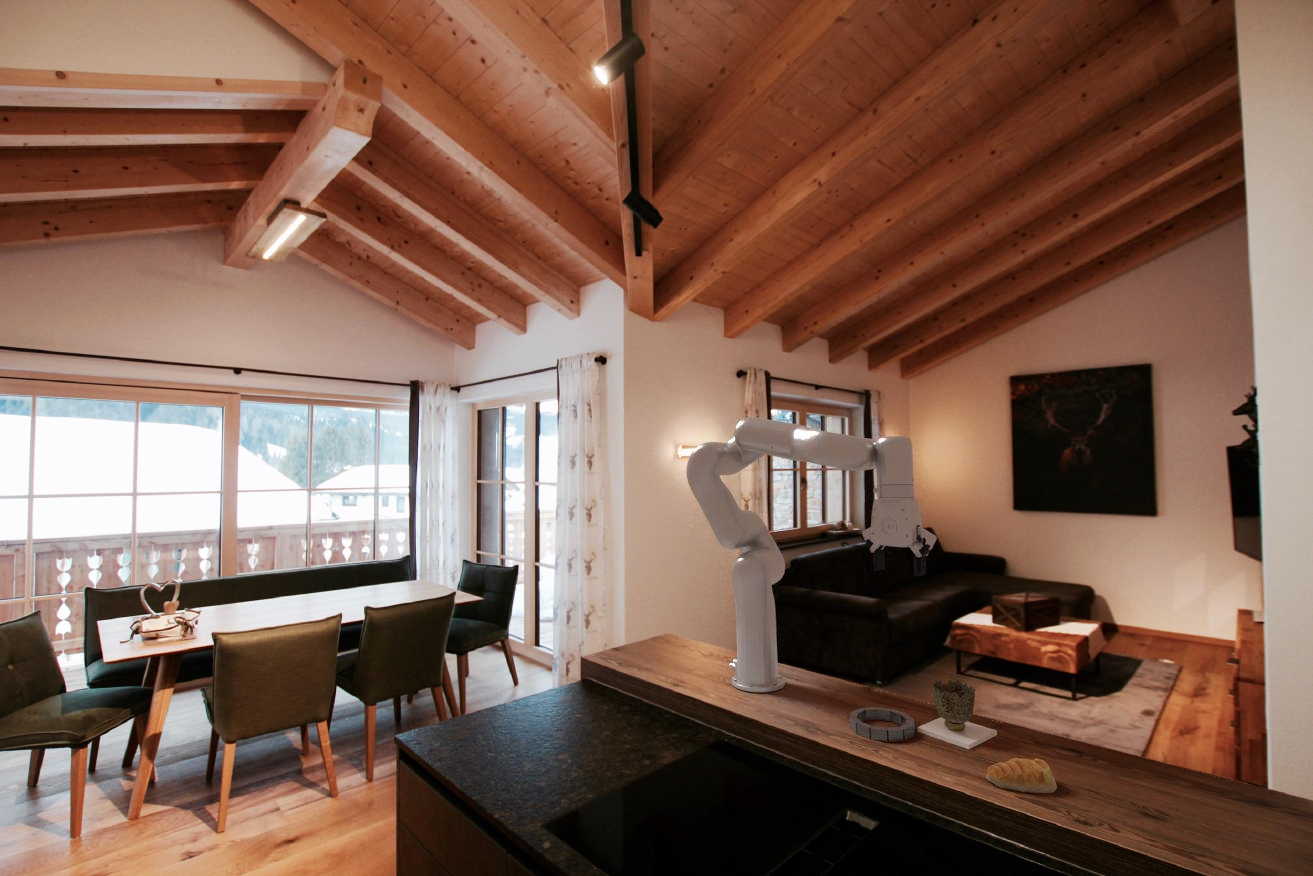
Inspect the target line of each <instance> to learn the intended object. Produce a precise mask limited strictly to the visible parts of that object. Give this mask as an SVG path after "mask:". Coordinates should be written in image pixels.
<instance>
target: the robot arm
mask: <svg viewBox="0 0 1313 876" xmlns="http://www.w3.org/2000/svg"><path fill="white" fill-rule="evenodd" d="M766 455H767V456H771V457H777V458H781V459H786V460H791V461H796V462H804V463H811V464H815V465H820V466H825V467H828V468H829V467H830V468H835V469H840V470H844V471H845V470H846V471H853V472H854V471H858V472H861V471H868V470H875V469H876V487H874V488H873V490H872V491H873V494H876V496H877V499H874V500H873V503H872V510H871V523H870V526H869V527H868V528H866V529H864V530H863V531H862V532H861V535H862V536H863V538H864V541H865V545H866V546H868V548H869V551H870V553H872V563H873V571H874V572H879V571H885V570H886V558H885V557H886V556H885V551H883V550H884V548H885V547H895V548H896V547H897V548H908V547H909V549H910V550H911V551H912V552H913V554H914V556H913V558H912V562H913V563H912V564H913V576H915V577H921V576H925V575H926V571H927V561H926V559H927V558H926V557H927V556H928V555H929V553H930V552H931V551H932V550H933V548H934V545H935V543H936V541H937V536H936V535H935V534H934V533H932V532H930V531H928V530H927V529H926V528H923V521H922V515H921V509H920V506H919V503H918V502H919V501H918V499H915V480H914V461H913V460H914V458H913V442H912V439H911V438H910V437H908V436H903V435H891V436H881V437H879V438H866V437H860V436H856V435H849V434H843V433H838V432H832V431H826V430H820V429H815V428H812V427H811V428H810V427H808V426H806V425H803V424H797V423H791V422H785V421H780V420H773V419H767V418H762V417H756V416H754V417H753V416H747V417H744V418H743V419H741V420H739V421H738V423H736V425H735V427H734V431H733V438H731V439H730V440H727V441H726V442H719V441H707V442H704V443H700V444H699V445H698V446H696V448H694V449H693V450H692V451H691V453H690V455H689V458H688V460H687V464H686V469H685V470H686V472H685V473H686V480H687V484H688V486H689V488H690V490H691V492H692V494H693V496H694V498H695V499H696V501H697V503H698V505H699V507H700V509H701V511H702V512H703V513H702V514H703V515H704V517H705V519H706V520H707V522H708V524H709V526H710V528H711V530H712V533H713V534H714V535H715V538H716V539H717V541H718V543H719V544H720V545H721V547H723V548H724V549H725V550H731V551H734V550H739V552H740V553H741V554H739V555H738V556H737V558H736V559H735V560H734V561H733V563H732V566H731V571H730V575H731V577H730V578H731V584H732V589H733V595H734V607H735V627H736V629H735V631H736V655H737V657H736V658H734V659H733V660H732V662H730V663H729V665H728V666H729V669H732V670H734V673H735V674H734V675H733V676H732V677H731V684H732V686H733V687H734V688H736V689H739V690H741V691H745V692H749V693H771V692H775V691H778V690H781V689H783V688H784V687H785V686H786V680H785V678H784V677H783V676H782V675H780V674H779V673H778V671H779V669H778V668H779V667H778V664H779V663H778V645H777V644H778V642H777V616H776V614H777V613H776V603H775V596H774V592H773V587H772V585H775V584H776V583H778V582H779V581H781V580H782V578H783V576H784V575H785V570H786V561H785V559H784V556H783V554H782V552H781V550H780V548H779V547H778V545H777V543H776V541H775V539H774V538H773V536H772V534H771V532H770V531H769V529H768V526H767V525H766V523H765V522H764V520H763V519H762V518H761V517H760V516H759V515H758V514H757V513H756V512H754V511H753V510H748V509H741V508H740V506H739V504H738V503H737V502H736V499H735V498H734V496H733V494H732V492H731V491H730V489H729V488H728V486H726V485H727V484H725V483H724V482H723V480H722V478H721V476H731V475H732V476H733V475H735V474H737V473H739V472H741V471H742V470H744V469H745V468H747V467H748V466H750V465H751V464H753V463H755V462H756V461H758V460H759V459H761V458H762V457H764V456H766ZM924 539H925V544H923V542H924Z"/></svg>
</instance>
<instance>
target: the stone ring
mask: <svg viewBox="0 0 1313 876" xmlns="http://www.w3.org/2000/svg"><path fill="white" fill-rule="evenodd" d="M875 720H880V721H886V722H892V723H894V724H898V725H900V726H891V727H883V726H875V725H872V724H868V723H866V721H875ZM849 728H850V729H851V731H853V732H854V733H855V734H857V735H859V736H861V737H864V738H867V739H869V740H873V741H880V742H887V743H888V742H889V743H890V742H902V741H907V740H909V739H911V738H913V737H914V736H915V720H914V718H913V717H912V716H911V715H909V714H908V713H905V712H902V711H899V710H896V709H895V708H886V707H878V706H877V707H876V706H873V707H871V706H870V707H860V708H857V709H854V710H852V711H850V715H849Z"/></svg>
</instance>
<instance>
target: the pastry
mask: <svg viewBox="0 0 1313 876" xmlns="http://www.w3.org/2000/svg"><path fill="white" fill-rule="evenodd" d="M985 778H986V780H988V781H989V782H990V783H992V784H993V785H995V786H996V787H999V788H1001V789H1008V790H1013V791H1017V792H1021V793H1033V794H1034V793H1036V794H1053V793H1055V791H1057V789H1058V786H1057V782H1056V780H1055V776H1054V775H1053V772H1052V769H1051V767H1050V766H1049V764H1048V763H1047V762H1046V761H1045V760H1044V759H1040V758H1036V757H1035V758H1034V759H1029V758H1018V757H1014V758H1011V759H1009V760H1007V761H1003V762H1001V761H999V762H997V763H995V764H992V765H989V766H987V769H986V772H985Z"/></svg>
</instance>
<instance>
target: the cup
mask: <svg viewBox="0 0 1313 876" xmlns="http://www.w3.org/2000/svg"><path fill="white" fill-rule="evenodd" d="M931 683H932V685H931V686H932V693H933V699H934V706H935V710H936V712H937V713H938V715H939V717H942V718H943V719H945V721H944V724H945V726H946V727H947V728H948V729H950V730H953V731H963V730H964V729H965V727H966V725H965V722H970V721H969V720H971V719H972V717H973V713H974V710H975V709H974V708H975V697H976V693H975V692H976V688H975V687H973V685H972V684H971V685H969V686H968V684H967V682H965V683H964V684H963V683H962V682H960V681H959V680H955V681H952V680H950V679H948V681H947V683H942V681H941V680H934V682H931Z"/></svg>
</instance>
